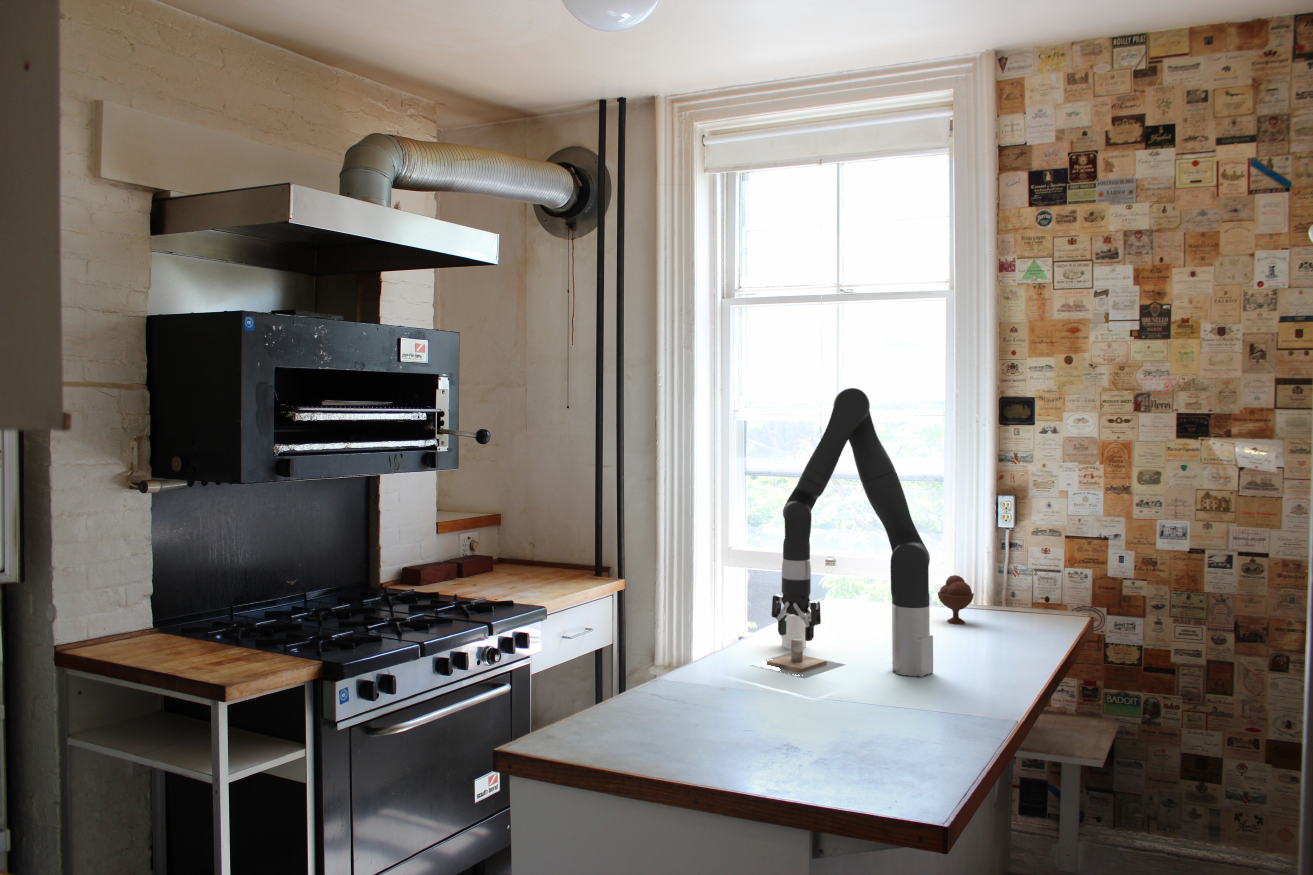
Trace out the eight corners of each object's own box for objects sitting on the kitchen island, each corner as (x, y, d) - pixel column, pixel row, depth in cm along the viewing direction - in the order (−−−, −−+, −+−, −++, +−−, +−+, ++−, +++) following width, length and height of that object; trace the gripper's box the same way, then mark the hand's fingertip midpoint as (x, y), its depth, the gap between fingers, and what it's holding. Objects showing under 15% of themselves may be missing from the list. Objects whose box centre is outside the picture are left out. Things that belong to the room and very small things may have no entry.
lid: (826, 664, 232) (826, 639, 232) (801, 672, 224) (801, 647, 224) (792, 657, 239) (792, 633, 239) (767, 664, 232) (767, 639, 232)
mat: (845, 666, 231) (845, 664, 231) (804, 679, 219) (804, 677, 219) (790, 654, 244) (790, 652, 244) (748, 666, 232) (748, 664, 232)
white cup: (799, 652, 247) (799, 616, 247) (775, 648, 251) (774, 613, 251) (812, 646, 253) (812, 612, 253) (788, 643, 258) (788, 608, 258)
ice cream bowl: (930, 620, 286) (930, 574, 286) (957, 617, 291) (956, 572, 291) (954, 627, 277) (954, 579, 277) (981, 623, 281) (981, 576, 281)
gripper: (827, 578, 229) (826, 640, 229) (783, 571, 240) (782, 630, 240) (809, 581, 224) (808, 644, 224) (765, 574, 234) (765, 635, 235)
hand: (795, 637), depth 232 cm, fingers open, 8 cm apart
